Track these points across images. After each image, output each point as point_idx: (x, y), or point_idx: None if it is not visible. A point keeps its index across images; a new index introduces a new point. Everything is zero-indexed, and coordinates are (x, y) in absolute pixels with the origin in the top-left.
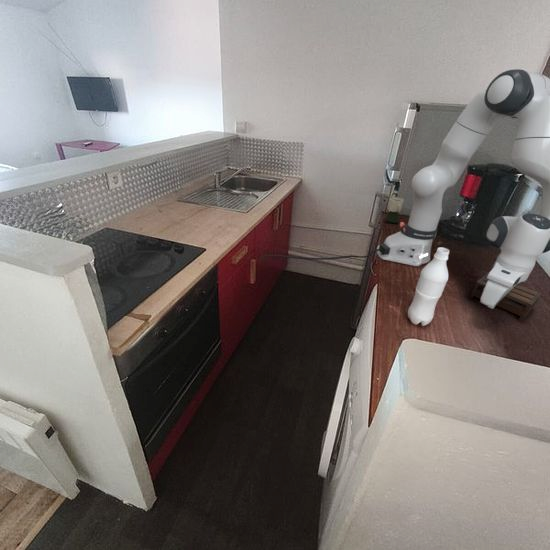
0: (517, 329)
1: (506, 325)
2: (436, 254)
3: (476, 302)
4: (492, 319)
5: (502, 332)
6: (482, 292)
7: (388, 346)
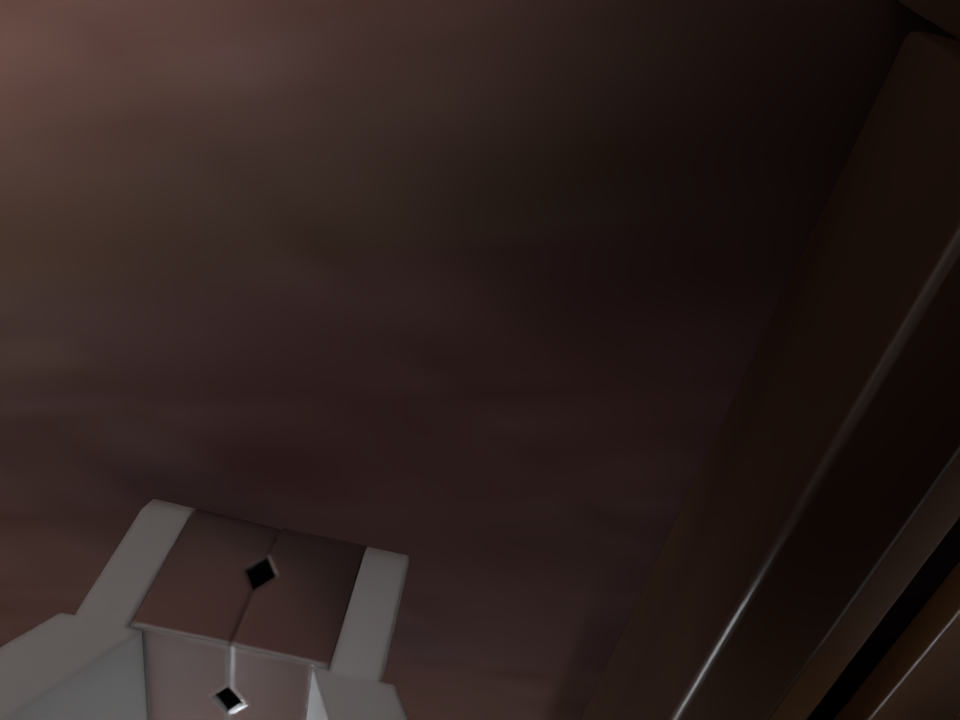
0: None
1: None
2: None
3: (729, 141)
4: (239, 468)
5: (11, 580)
6: (872, 360)
7: None
